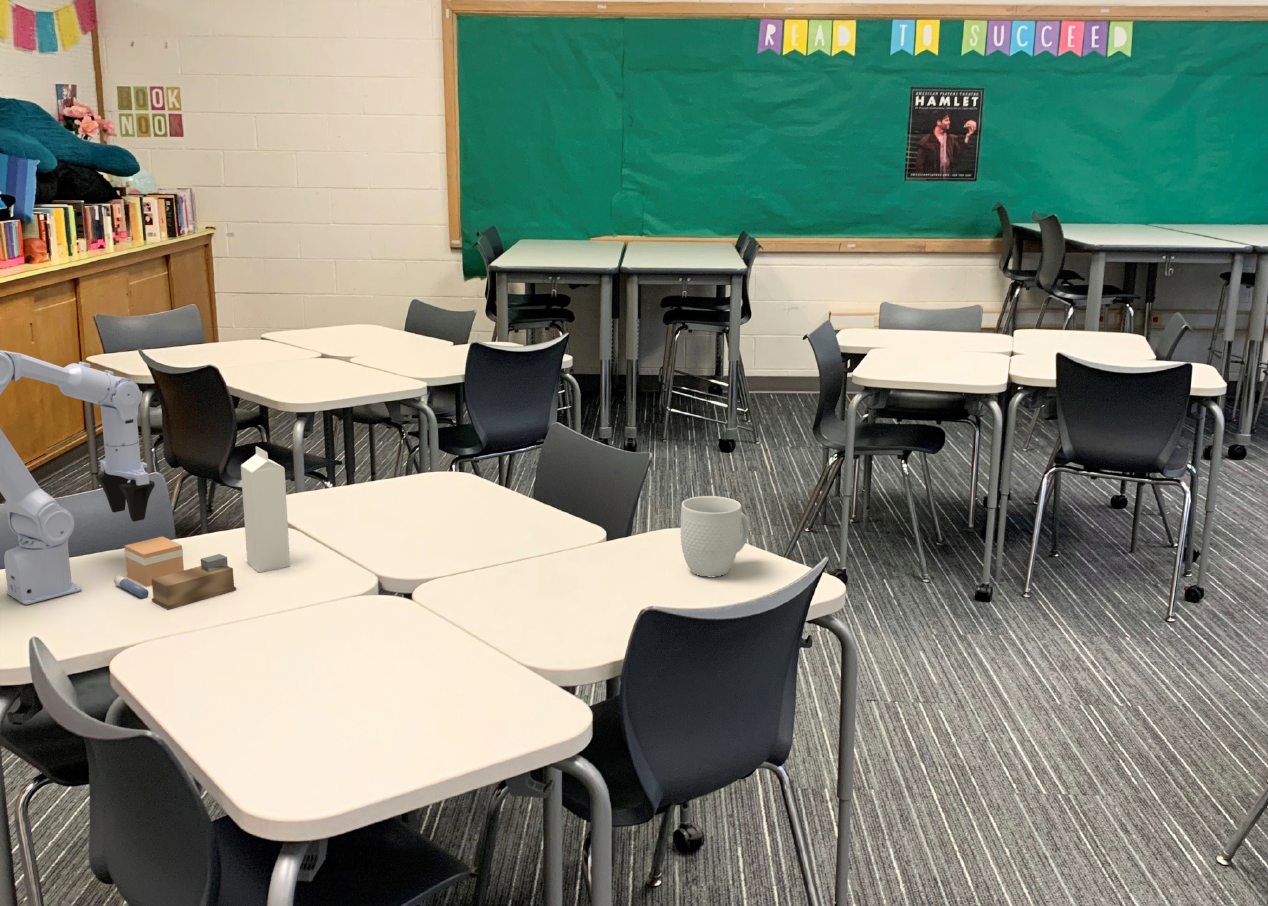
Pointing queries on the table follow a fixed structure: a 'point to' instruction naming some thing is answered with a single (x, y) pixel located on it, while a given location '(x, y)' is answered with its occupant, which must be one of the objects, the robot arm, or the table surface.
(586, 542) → the table surface
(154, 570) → the carton
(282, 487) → the milk
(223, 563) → the eraser
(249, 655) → the table surface
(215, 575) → the podium
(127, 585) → the marker
